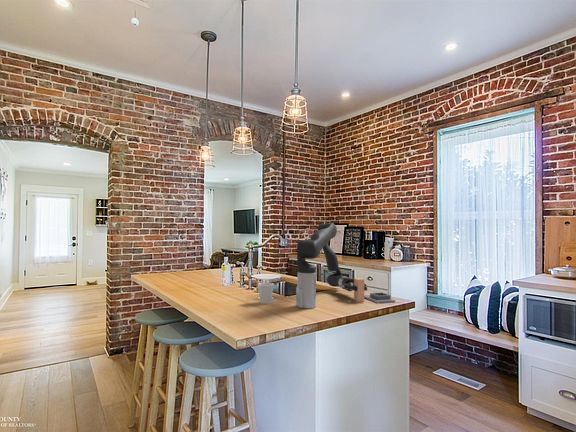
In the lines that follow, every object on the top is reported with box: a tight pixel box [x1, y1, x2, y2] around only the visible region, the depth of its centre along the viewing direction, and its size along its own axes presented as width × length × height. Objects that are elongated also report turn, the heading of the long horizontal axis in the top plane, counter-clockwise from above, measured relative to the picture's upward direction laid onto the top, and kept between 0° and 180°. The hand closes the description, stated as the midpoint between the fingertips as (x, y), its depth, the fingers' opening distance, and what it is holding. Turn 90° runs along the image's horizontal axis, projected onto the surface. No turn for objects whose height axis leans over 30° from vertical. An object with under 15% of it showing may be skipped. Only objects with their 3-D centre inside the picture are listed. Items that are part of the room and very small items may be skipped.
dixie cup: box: [257, 281, 275, 305], centre depth 175 cm, size 8×8×10 cm
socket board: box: [364, 292, 396, 304], centre depth 184 cm, size 11×15×3 cm
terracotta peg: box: [353, 277, 365, 303], centre depth 181 cm, size 4×4×12 cm
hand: (361, 288), depth 179 cm, fingers open, 5 cm apart
